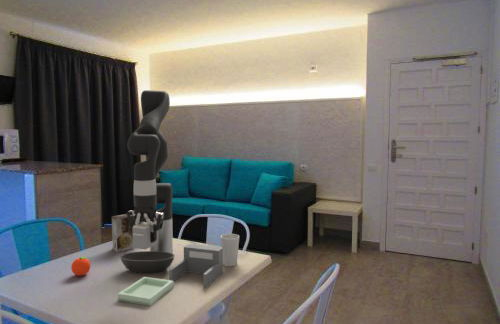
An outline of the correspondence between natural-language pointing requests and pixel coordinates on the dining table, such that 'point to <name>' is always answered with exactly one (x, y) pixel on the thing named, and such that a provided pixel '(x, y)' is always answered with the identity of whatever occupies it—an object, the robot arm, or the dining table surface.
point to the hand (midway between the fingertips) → (146, 241)
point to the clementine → (81, 266)
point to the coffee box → (121, 233)
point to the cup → (230, 249)
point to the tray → (146, 291)
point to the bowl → (147, 261)
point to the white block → (142, 236)
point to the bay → (199, 263)
